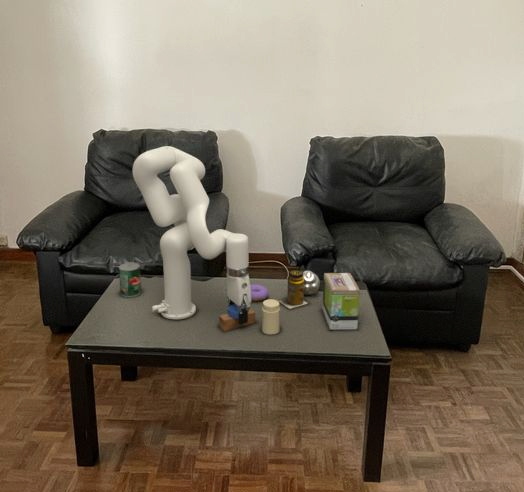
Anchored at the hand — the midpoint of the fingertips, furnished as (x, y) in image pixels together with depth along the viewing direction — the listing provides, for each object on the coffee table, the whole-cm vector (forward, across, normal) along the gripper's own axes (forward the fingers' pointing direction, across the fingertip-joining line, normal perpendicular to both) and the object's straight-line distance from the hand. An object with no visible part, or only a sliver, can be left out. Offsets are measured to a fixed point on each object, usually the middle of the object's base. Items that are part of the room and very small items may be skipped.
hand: (238, 318), depth 189 cm
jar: (+2, -9, -8) cm, 12 cm away
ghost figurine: (+3, +7, -35) cm, 36 cm away
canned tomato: (+2, +43, +24) cm, 50 cm away
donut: (+3, +15, -16) cm, 22 cm away
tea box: (+3, -15, -33) cm, 36 cm away
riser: (+2, 0, 0) cm, 2 cm away
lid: (-4, 0, 0) cm, 4 cm away
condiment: (+3, +4, -26) cm, 26 cm away
